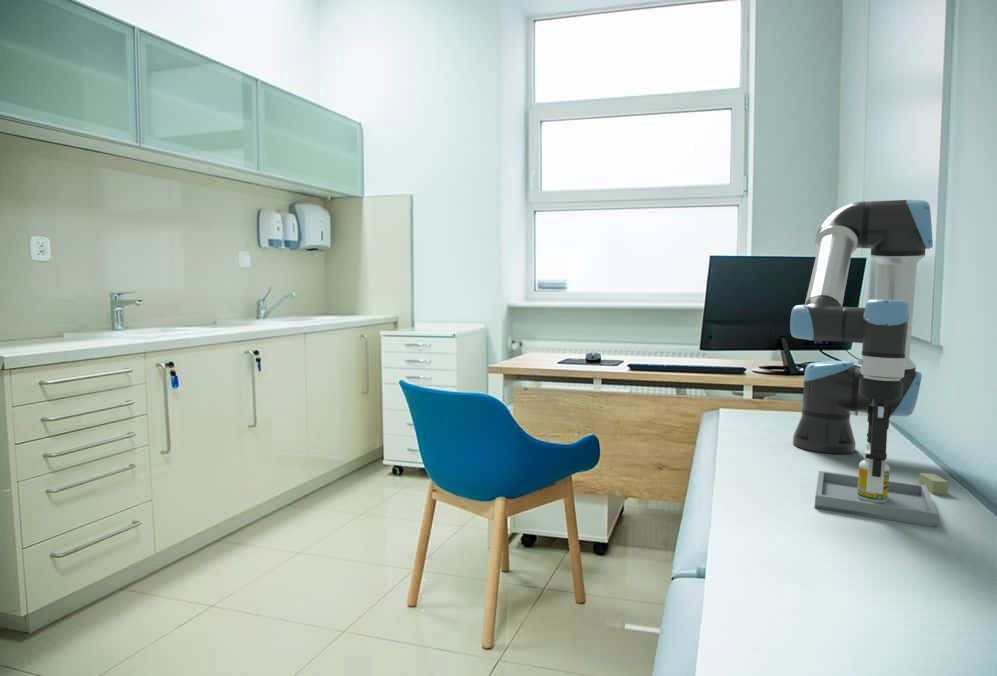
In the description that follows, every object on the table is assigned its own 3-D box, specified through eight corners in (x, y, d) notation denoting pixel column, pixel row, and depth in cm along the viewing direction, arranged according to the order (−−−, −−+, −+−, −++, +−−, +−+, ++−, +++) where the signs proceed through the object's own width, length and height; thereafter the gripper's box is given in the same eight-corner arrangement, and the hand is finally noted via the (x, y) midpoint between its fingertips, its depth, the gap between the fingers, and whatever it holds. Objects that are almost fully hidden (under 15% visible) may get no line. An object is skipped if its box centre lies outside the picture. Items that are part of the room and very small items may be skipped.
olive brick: (918, 486, 147) (919, 473, 147) (933, 487, 147) (934, 474, 147) (931, 494, 142) (933, 480, 141) (947, 495, 141) (948, 481, 141)
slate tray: (818, 481, 148) (819, 470, 148) (925, 497, 139) (926, 485, 139) (814, 507, 130) (815, 495, 130) (936, 527, 121) (938, 514, 121)
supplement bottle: (865, 493, 138) (869, 447, 137) (892, 501, 134) (896, 453, 133) (851, 497, 135) (854, 450, 134) (878, 505, 131) (882, 457, 130)
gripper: (858, 369, 145) (851, 466, 147) (860, 383, 123) (852, 497, 125) (898, 372, 142) (891, 471, 144) (908, 387, 120) (899, 504, 122)
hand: (873, 483), depth 134 cm, fingers open, 13 cm apart
